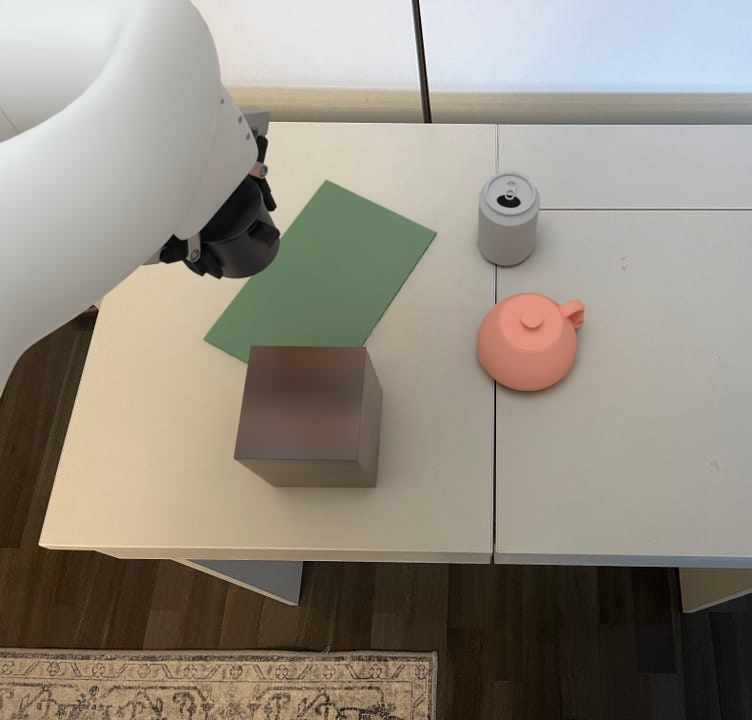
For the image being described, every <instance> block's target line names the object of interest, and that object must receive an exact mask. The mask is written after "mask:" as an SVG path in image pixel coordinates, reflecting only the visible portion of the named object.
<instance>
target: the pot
mask: <svg viewBox="0 0 752 720" xmlns="http://www.w3.org/2000/svg"><path fill="white" fill-rule="evenodd" d="M281 235H282V233H281V231H280V230H279V228H277V226H276V224H275V222H274V220H273V218H272V216H271V214H270V212H269V211H268V210H267V208H266V206H265V204H264V202H263V196H262V193H261V190H260V188H259V186H258V184H257V183H256V181H255V180H254V179H253V178H252V177H251V176H249V175H248V174H247V176H246V177H245V178H244V179H243V181H242V182H241V183H240V184H239V186H238V187H237V188H236V189H235V190H234V192H233V193H232V194H231V195H230V196H229V198H228V199H227V200H226V201H225V203H224V204H223V205H222V206H221V207H220V208H219V210H218V211H217V212H216V213H215V214H214V216H213V217H212V218H211V219H210V220H209V221H208V223H207V224H206V225H205V226H204V227H203V228H202V229H201V230H200V246H201V247H203V248H205V249H207V250H208V251H209V252H210V253H211V255H212V256H213V258H214V259H215V260H216V262H217V263H218V265H219V266H220V268H221V269H222V270H223V276H222V277H221V278H226V279H235V280H240V279H246V278H247V279H248V278H250V277H251V276H253V275H256V274H258V273H259V272H261V271H263V270H264V269H265V268H267V267H268V266H269V265H270V264H271V263H272V261H273V260H274V259H275V257H276V255H277V253H278V250H279V245H280V238H281V237H280V236H281Z"/></svg>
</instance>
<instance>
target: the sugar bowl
mask: <svg viewBox="0 0 752 720" xmlns="http://www.w3.org/2000/svg"><path fill="white" fill-rule="evenodd" d="M585 311H586V310H585V305H584V303H583V302H582V301H581V300H579V299H572V300H569V301H567V302H565V303H564V304H562V305H560V304H559V303H558V302H557V301H555V300H553V299H552V298H551V297H549V296H546V295H544V294H540V293H536V292H520V293H515V294H511V295H509V296H507V297H504V298H503V299H501V300H499V301H498V302H497V303H495V304H494V305H493V306H492V307H491V308H490V309H489V310H488V311H487V312H486V314H485V316H484V317H483V319H482V321H481V322H480V325H479V327H478V330H477V337H476V349H477V350H476V351H477V355H478V359H479V361H480V364H481V365H482V366H483V368H484V370H485V371H486V372H487V374H489V376H490V377H491V378H492V379H494V380H495V381H496V382H498V383H499V384H500V385H503V386H504V387H507V388H509V389H513V390H516V391H522V392H533V391H539V390H543V389H546V388H549V387H551V386H553V385H555V384H556V383H558V382H560V380H562V379H563V378H564V377H565V376H566V375H567V373H568V372H569V371H570V369H571V368H572V366H573V364H574V362H575V359H576V354H577V347H578V343H577V341H578V339H577V334H576V333H577V332H576V330H575V329H577V328H580V326H581V325H583V324H584V321H585V318H584V313H585Z"/></svg>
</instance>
